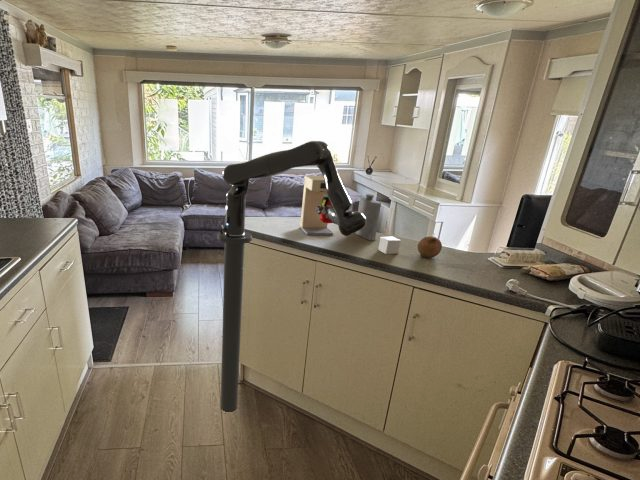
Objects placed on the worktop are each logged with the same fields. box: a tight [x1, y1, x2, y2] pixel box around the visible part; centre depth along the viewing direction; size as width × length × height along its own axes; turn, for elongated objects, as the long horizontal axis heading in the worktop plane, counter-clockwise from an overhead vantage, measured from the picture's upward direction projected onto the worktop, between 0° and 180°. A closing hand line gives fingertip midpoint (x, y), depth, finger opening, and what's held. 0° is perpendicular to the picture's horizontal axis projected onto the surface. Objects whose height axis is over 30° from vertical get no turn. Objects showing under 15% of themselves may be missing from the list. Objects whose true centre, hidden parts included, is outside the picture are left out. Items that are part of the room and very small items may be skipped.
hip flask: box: [354, 193, 382, 242], centre depth 206 cm, size 16×4×20 cm, turn 15°
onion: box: [417, 235, 443, 259], centre depth 181 cm, size 10×9×10 cm
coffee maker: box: [299, 175, 334, 236], centre depth 209 cm, size 14×13×26 cm
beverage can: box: [320, 195, 333, 224], centre depth 195 cm, size 6×6×12 cm
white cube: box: [377, 235, 401, 255], centre depth 186 cm, size 6×6×6 cm
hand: (326, 207), depth 197 cm, fingers closed on beverage can, 6 cm apart
